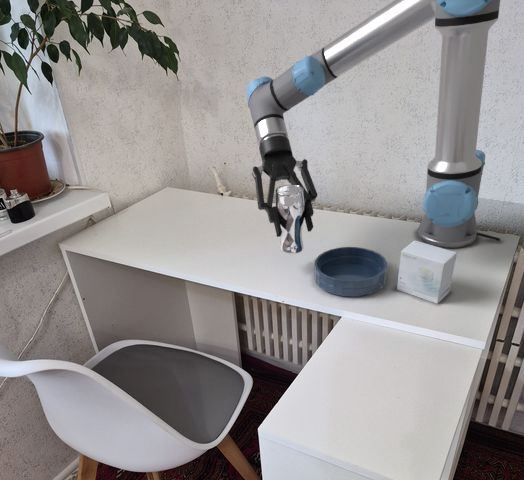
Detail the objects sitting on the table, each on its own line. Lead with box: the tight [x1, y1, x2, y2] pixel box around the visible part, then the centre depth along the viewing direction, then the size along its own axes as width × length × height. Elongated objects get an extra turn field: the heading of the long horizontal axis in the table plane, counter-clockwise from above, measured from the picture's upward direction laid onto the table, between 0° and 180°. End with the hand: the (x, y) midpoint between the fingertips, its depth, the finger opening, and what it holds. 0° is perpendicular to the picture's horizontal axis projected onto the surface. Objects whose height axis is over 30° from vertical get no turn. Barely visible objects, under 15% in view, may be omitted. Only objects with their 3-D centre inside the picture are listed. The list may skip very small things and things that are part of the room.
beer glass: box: [275, 184, 305, 255], centre depth 122 cm, size 7×7×15 cm
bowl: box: [313, 246, 388, 297], centre depth 123 cm, size 17×17×4 cm
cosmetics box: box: [396, 240, 458, 304], centre depth 115 cm, size 10×6×10 cm, turn 48°
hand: (295, 231), depth 120 cm, fingers closed on beer glass, 7 cm apart
